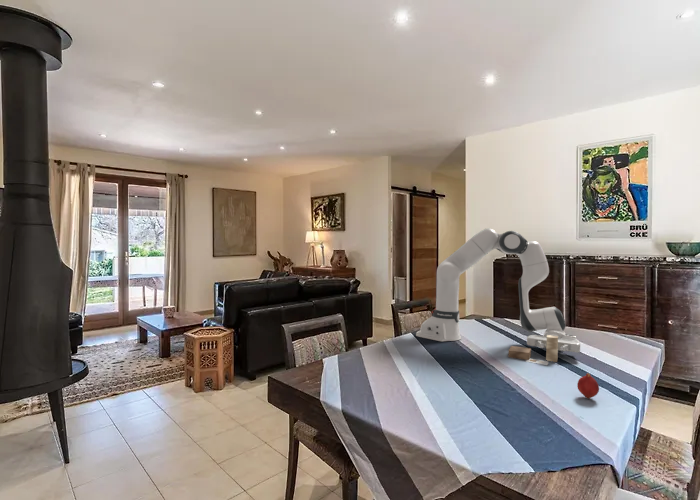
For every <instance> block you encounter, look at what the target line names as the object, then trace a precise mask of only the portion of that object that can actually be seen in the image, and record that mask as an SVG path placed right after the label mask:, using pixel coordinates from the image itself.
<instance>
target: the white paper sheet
mask: <svg viewBox="0 0 700 500" xmlns="http://www.w3.org/2000/svg"><path fill="white" fill-rule="evenodd" d="M525 362H526V363H530V362H531V364H536V363H537V364H538V365H544V366H548V365H549V361H546V360H540V359H535V358H530V359H529V360H525Z"/></svg>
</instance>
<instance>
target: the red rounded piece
mask: <svg viewBox="0 0 700 500" xmlns="http://www.w3.org/2000/svg"><path fill="white" fill-rule="evenodd" d="M591 375H592V374H590V373H586V374H585V375H584V376H581V377H580V378H579V379H578V381H577V385H576V386H577V390H578V391H579V392H580V393H581V394H582V395H583V397H584V398H586V399H591V398H594V397H596V396H597V395H598V394H599V392H600V386H599V383H598V382H597V380H596V378H594V377H593V376H591Z"/></svg>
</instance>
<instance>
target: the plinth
mask: <svg viewBox="0 0 700 500" xmlns="http://www.w3.org/2000/svg"><path fill="white" fill-rule="evenodd" d="M531 357H532V348H531V347H525V346H524V347H523V346H516V345H515V346H514V345H511V346H510V347H509V348H508V358H511V359H519V360H525V361H526V360H529V359H531Z"/></svg>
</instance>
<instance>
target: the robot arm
mask: <svg viewBox="0 0 700 500" xmlns="http://www.w3.org/2000/svg"><path fill="white" fill-rule="evenodd" d="M493 250H497V251H499V252H501V253H503V254H506V255H514V254H515V255H517V256H518V258H519V260H520V262H521V263H520V264H521V266H522V275H521V277H520V278H519V279H518V297H519V299H518V300H519V301H518V302H519V314H520V315H519V324H520V326H521V328H522V329H523V330H525V331H527V332H529V333H532V332H537V331H542V330H545V331H544V333H543V335H537V334H530V335H528V336H526V345H527V346H531V347H535V348H536V347H537V348H540V349H546V345H547V335H552V336H558V352H571V353H577V354H578V353H580V352H581V342H580V340H579V339H577V336H575V335H572V334H569V333H566V332H565V329H566V327H567V326H566V319H565V316H564V314H563V312H562V311H561V310H560V309H559V308H557V307H556V306H551V307H550V306H549V307H543V308H537V309H530V301H529V300H530V299H529V292H530V290H531V289H533V287H535V286H537V285H538V284H540V283H541V282H544V281H545V280H546V279H547V277H548V276H549V273H550V267H549V263H548V259H547V256H546V254H545V251H544V249H543V247H542V245H541V243H540V242H538V241H536V240H527V239H526V238H525V237H524V236H523V235H522V234H520V233H519V232H518V231H515V230H509V231H506V232H503V233H498V232H497V231H496V230H494V229H493V228H490V227H487V228H484V229H483V230H480V231H479V232H478V233H477V232H476V233H475V235H473V236H472V237H471V238H470V239H469V240H466V242H465V243H464V244H462V245H461V246H460V247H459V248H458V249H456V250H455V251H454V252H453V253H451V254H450V255H449V256H447V257H446V258H445V259H444V260H443V261H441V262H440V263H439V265H438V266H437V269H436V285H435V286H436V292H435V293H436V296H435V297H436V298H435V301H436V303H435V308H434V309H433V310H431V316H430V317H428V318H427V319H425V321H423V322H422V324H420V330H418V331H416V333H415V336H416V337H419V338H423V339H428V340H431V341H432V340H433V341H438V342H450V341H451V342H454V341H460V340H461V339H462V336H461V332H460V326H459V322H460V310H459V299H460V298H459V296H460V295H459V293H460V276H461V275H462V274H464V273H465V272H466V271H468V270H469V269H470V268H472V267H474V266H475V264H477V263H478V262H479V261H481V260H482V259H484V257H486V256H487V255H488V254H489V253H490V252H491V251H493Z"/></svg>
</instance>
